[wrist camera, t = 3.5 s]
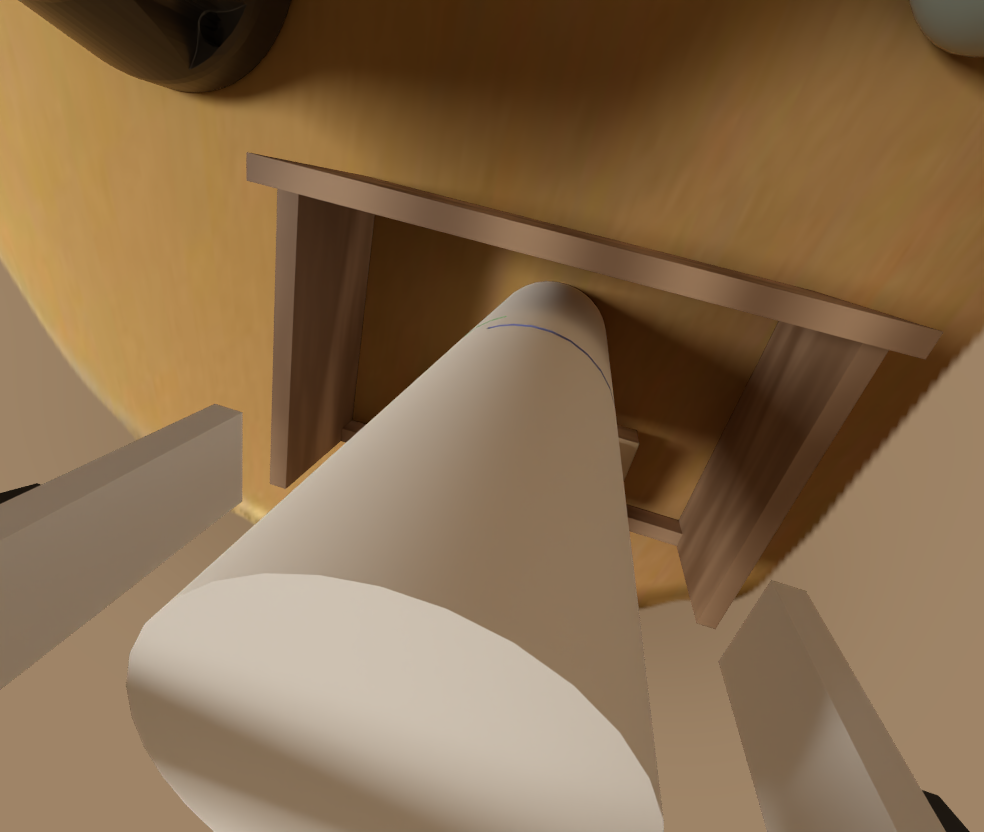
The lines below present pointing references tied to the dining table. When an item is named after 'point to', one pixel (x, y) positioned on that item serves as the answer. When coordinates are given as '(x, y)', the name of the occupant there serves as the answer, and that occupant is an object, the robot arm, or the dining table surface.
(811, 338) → the rack
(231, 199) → the dining table surface
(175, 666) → the cylindrical container
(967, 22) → the cup
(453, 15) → the dining table surface
